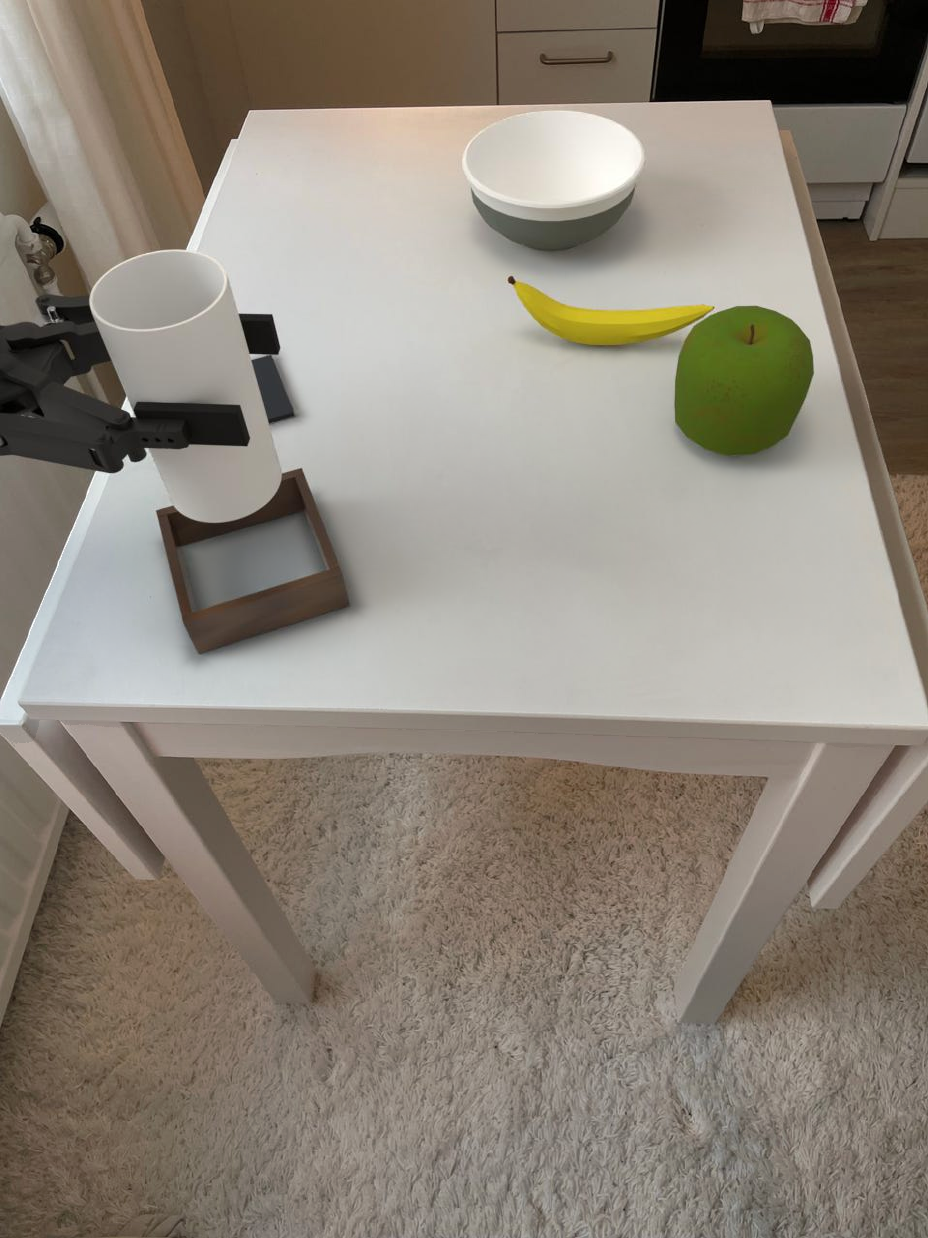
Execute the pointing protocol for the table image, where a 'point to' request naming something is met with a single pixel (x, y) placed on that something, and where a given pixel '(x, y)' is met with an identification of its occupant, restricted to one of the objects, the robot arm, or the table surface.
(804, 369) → the apple
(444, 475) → the table surface
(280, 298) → the table surface
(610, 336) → the banana
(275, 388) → the pad
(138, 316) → the cup
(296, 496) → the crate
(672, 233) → the table surface
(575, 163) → the bowl
